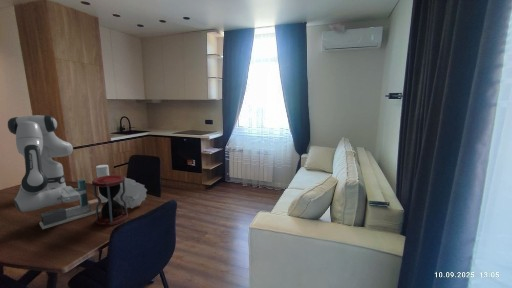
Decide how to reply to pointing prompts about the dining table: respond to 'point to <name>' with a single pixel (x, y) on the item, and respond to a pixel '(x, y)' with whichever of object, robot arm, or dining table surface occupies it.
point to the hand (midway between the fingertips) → (84, 190)
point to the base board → (69, 219)
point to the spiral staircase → (131, 193)
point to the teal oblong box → (84, 203)
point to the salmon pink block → (94, 205)
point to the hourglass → (110, 200)
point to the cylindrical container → (101, 171)
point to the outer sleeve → (53, 216)
